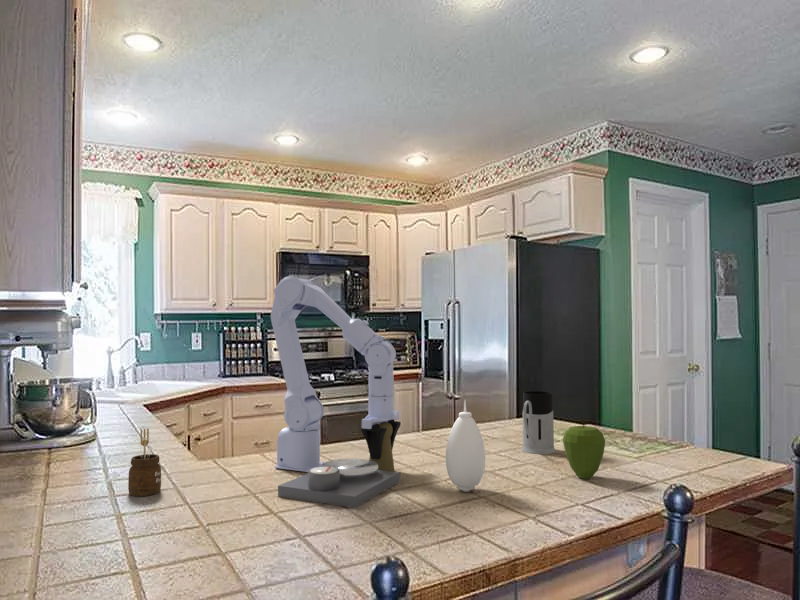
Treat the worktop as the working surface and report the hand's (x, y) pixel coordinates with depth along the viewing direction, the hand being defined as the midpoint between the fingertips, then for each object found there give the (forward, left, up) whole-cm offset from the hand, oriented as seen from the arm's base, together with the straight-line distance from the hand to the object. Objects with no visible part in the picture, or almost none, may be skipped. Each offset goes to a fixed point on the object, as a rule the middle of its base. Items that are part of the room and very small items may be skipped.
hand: (381, 456), depth 131 cm
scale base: (-1, -16, -3) cm, 16 cm away
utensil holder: (-35, -34, -4) cm, 49 cm away
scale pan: (-1, -13, 0) cm, 13 cm away
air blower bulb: (+22, -6, -4) cm, 23 cm away
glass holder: (+27, +34, -4) cm, 44 cm away
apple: (+42, +14, -4) cm, 44 cm away
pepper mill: (0, 0, -4) cm, 4 cm away
